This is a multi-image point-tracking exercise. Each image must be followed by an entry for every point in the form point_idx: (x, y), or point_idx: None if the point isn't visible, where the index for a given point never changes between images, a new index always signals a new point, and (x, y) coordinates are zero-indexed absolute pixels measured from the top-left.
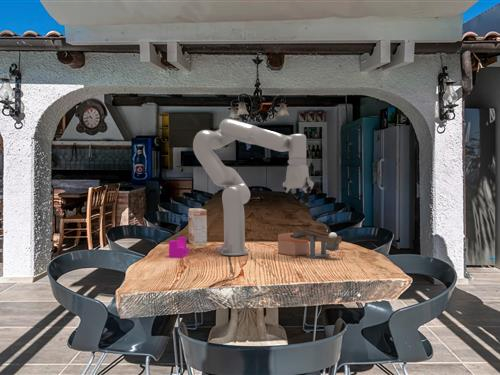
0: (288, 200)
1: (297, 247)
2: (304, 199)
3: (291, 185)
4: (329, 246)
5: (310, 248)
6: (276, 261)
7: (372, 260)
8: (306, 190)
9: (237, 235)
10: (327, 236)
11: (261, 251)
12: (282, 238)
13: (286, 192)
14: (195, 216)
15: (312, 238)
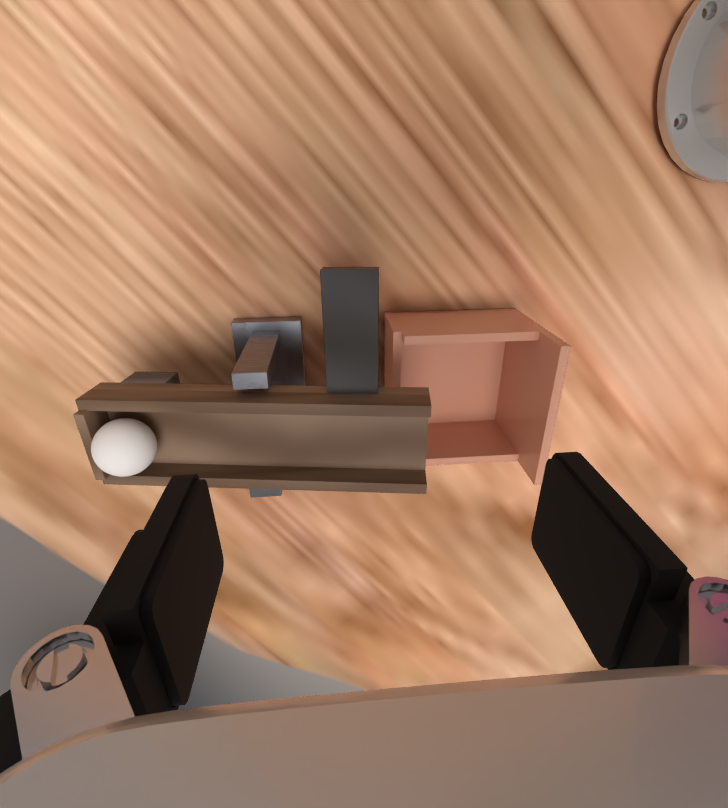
0: (557, 468)
1: (390, 349)
2: (159, 503)
3: (600, 778)
4: (139, 381)
5: (272, 342)
6: (326, 51)
7: (28, 477)
8: (17, 704)
9: None
10: (210, 468)
11: (649, 309)
12: (540, 370)
13: (718, 585)
14: None
15: (244, 366)
